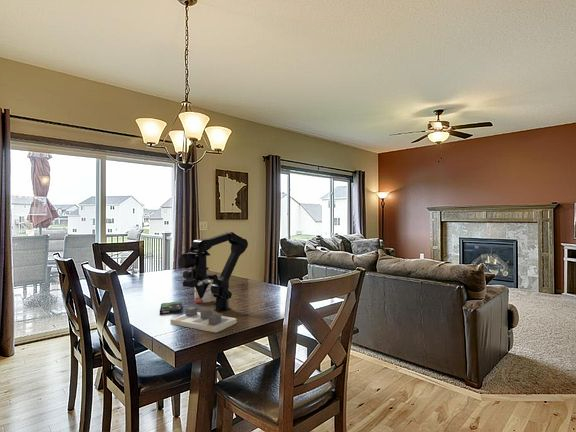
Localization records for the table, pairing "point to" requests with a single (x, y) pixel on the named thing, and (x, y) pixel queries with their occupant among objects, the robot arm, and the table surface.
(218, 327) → the switch panel
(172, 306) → the disk drive
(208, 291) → the ink cartridge box
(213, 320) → the tab
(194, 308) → the tab
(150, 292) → the table surface
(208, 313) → the tab middle
